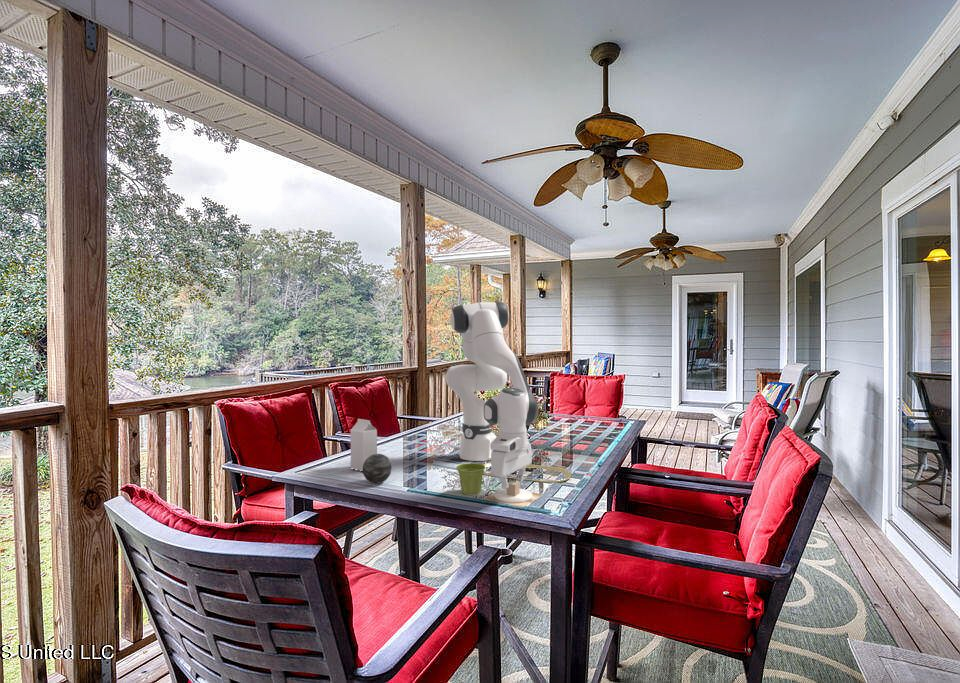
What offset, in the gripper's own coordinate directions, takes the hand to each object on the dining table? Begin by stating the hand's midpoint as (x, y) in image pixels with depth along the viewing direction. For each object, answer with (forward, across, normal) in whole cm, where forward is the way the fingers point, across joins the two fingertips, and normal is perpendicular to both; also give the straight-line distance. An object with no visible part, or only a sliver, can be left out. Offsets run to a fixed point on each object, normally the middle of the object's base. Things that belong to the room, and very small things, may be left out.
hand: (512, 484), depth 152 cm
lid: (+4, 0, 0) cm, 4 cm away
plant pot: (+5, +3, -14) cm, 15 cm away
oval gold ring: (+5, -26, -10) cm, 29 cm away
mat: (+4, 0, 0) cm, 5 cm away
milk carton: (+4, +1, -65) cm, 65 cm away
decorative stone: (+4, +11, -48) cm, 49 cm away
